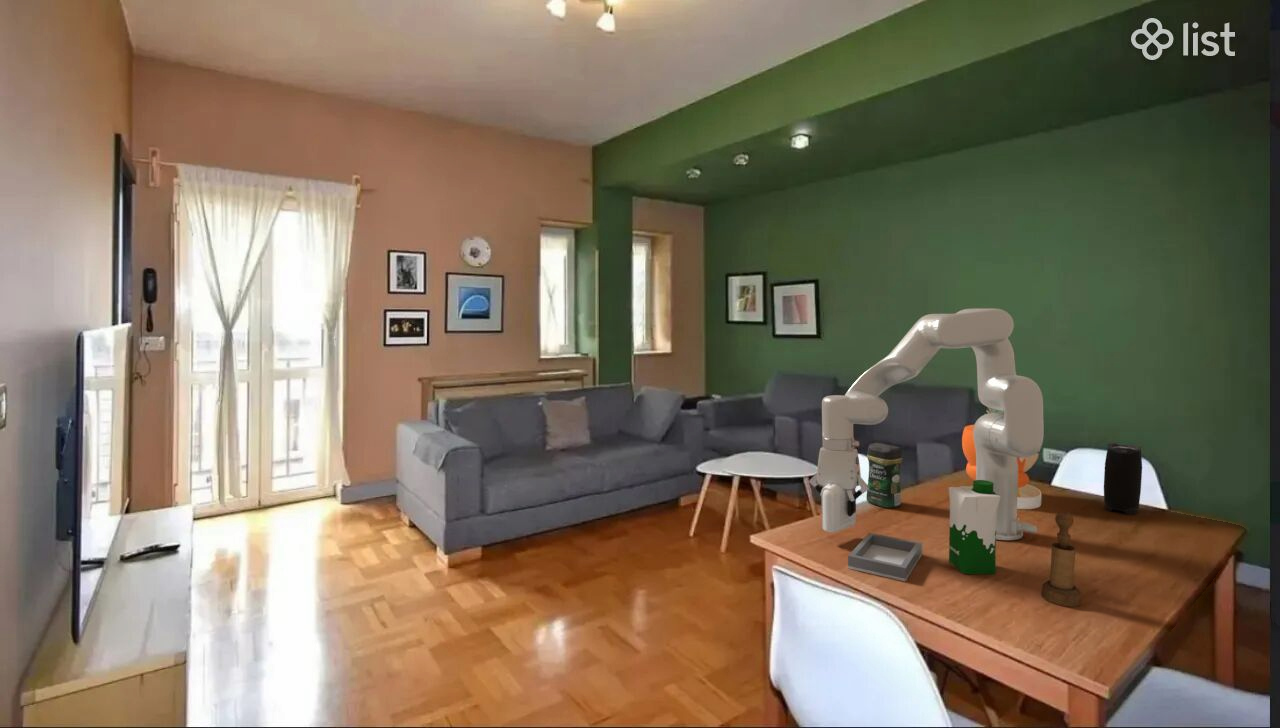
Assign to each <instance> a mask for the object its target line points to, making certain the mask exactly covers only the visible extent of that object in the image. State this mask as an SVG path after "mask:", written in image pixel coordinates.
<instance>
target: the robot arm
mask: <svg viewBox="0 0 1280 728" xmlns="http://www.w3.org/2000/svg"><path fill="white" fill-rule="evenodd" d="M1014 325H1015V323H1014V319H1013V317H1012V315H1010V313H1008V311H1006V310H1003V309H1002V308H993V307H992V308H991V307H990V308H989V307H988V308H979V307H978V308H965V309H961V310H959V311H957V312H955V313H928V314H926V315H924V316H921V317H920V318H919V319H918V320H917V321H916V322H915V323H914V324H913V326H912V327H911V328H910V329H909V330H908V331H907V333H906V334H905V335H904V336H903V337H902V339H901V340H900V341H899V343H898V344H897V345H896V346H895V347H894V348H893V349H891V352H890V353H889V354H888V355H886V357H884V358H882V359H881V360H880V361H878V362H876V363H875V364H874V365H872V366H871V367H870V368H869V369H867V370H865V371H864V372H863V374H861V375H860V376H859V377H858V378H857V379H856V380H855V382H853V384H852V385H851V387H850V388H849V389H848V390H847V391H846V393H845V394H844V395H841V394H840V395H839V394H837V395H836V394H834V395H826V396H824V397H823V398H822V401H821V424H822V425H821V426H822V427H821V428H822V433H821V434H822V435H821V436H822V447H820V449H819V453H818V461H817V470H816V471H817V472H816V473H815V474H814V475H813V476H812V477H811V478H810V479H809V484H810V485H812V486H813V487H814V489H815V490H816V491H817V493H819V495H820V497H821V498H822V490H823V488H824V487H825V486H827V485H828V484H830V483H831V484H832V485H833V484H837V485H838V486H840V488H842V489H845V490H847V493H848V496H849V501H848V516H852V515H853V514H854V513H855V512H857V499H858V498H859V497H860V496H862V495H863V494H864V493H867V490H868V489H869V486H868V483H866V482H865V481H864V479H863V477H862V476H861V475H862V474H861V466H860V458H859V453H858V452H859V451H858V449H857V448H856V447H859V446H860V441H858V440H855V437H854V425H855V424H856V425H869V426H872V425H878V424H880V423H882V422H883V421H885V419H886V418H887V417H888V414H889V407H888V404H887V403H886V401H885V400H884V399H882V398H881V397H879V396H880V395H881V394H882V393H884V392H885V391H886V390H888V389H889V388H891V387H893V386H894V385H895V386H896V385H897V384H900V383H904V382H907V381H909V380H912V379H913V378H916V377H917V376H918V375H919V374H920V373H921V371H922V370H924V368H925V367H926V366H927V365H928V363H929V362H931V360H932V359H933V357H935V355H936V354H937V353H938V351H939V350H940V349H949V350H952V349H963V348H966V349H967V348H971V349H972V350H973V353H974V354H975V359H976V361H975V362H976V372H977V373H976V374H977V376H976V379H977V397H978V400H979V402H980V403H981V404H982V405H984V406H985V407H987V408H988V407H989V409H990V408H992V409H996V410H1000V411H1004V415H1003V414H998V413H989V414H988V413H984V415H981V416H980V417H979V418H978V419H977V420H976V422H975V423H974V424H973V425H974V429H973V437H974V443H975V449H976V480H986V481H990V482H993V491H994V492H995V493H996V494H998V495H999V496H1000V501H999V505H998V509H997V522H996V541H997V540H998V541H1015V540H1020V539H1022V538H1023V536H1024V532H1027V533H1029V534H1037V533H1038V532H1037V531H1038V529H1037V528H1038V525H1033V523H1031V522H1022V520H1019V518H1020V517H1019V515H1017V514H1018V513H1017V510H1018V509H1017V490H1018V463H1017V458H1030V457H1032V456H1034V455H1035V454H1037V453H1038V451H1039V450H1040V451H1041V449H1042V446H1043V442H1044V437H1045V436H1044V434H1045V433H1044V432H1045V431H1044V428H1045V427H1044V425H1045V423H1044V399H1043V393H1042V391H1041V388H1040V387H1039V385H1038V384H1037V383H1036V381H1034V380H1033V379H1031V378H1030V377H1027V376H1022V375H1017V372H1016V362H1015V353H1014V352H1015V351H1014V347H1013V346H1012V343H1011V341H1010V339H1009V337H1010V336H1011V335H1012V333H1013V331H1014V328H1015V326H1014ZM1040 448H1041V449H1040ZM1016 457H1017V458H1016ZM858 486H859V488H860V489H858V490H856V489H857V487H858Z"/></svg>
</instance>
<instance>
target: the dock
mask: <svg viewBox="0 0 1280 728" xmlns="http://www.w3.org/2000/svg"><path fill="white" fill-rule="evenodd" d="M922 554H923V543H922V542H920V541H914V540H910V539H905V538H897V537H895V536H894V537H893V536H888V535H883V534H877V533H873V532H868V533H867V535H865V537H864V538H863V539H862V540H861V541H860V543H858V544H857V545H856V547H854V548H853V550H851V552H850V553H849V554H848V555H847V568H848V569H850V570H854V571H857V572H858V571H859V572H863V573H867V574H872V575H874V576H875V575H876V576H881V577H884V578H889V579H893V580H897V581H901V582H906V581H907V580H908V577H909V576H910V575H911V573H912V571H913V570H914V568H915V566H916V565H917V563H918V562H919V560H920V559H921V557H922V556H923V555H922Z"/></svg>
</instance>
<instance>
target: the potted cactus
mask: <svg viewBox="0 0 1280 728" xmlns="http://www.w3.org/2000/svg"><path fill="white" fill-rule="evenodd" d="M989 413H998V414H1003V415H1004V411H1000V410H996V409H992V408H989V407H987V414H989ZM974 425H975V424H970V425H966V426H964V428H963V431H962V439H961V444H962V445H961V446H962V450H963V451H962V452H963V455H964V456H965V458H966V460H967V463H966V468H965V471H966V474H967V475H968V477H969V478H971V480H972V481H974V480H976V449H975V443H974V437H973V429H974ZM1041 449H1042V447H1041V448H1040V450H1039V451H1038V453H1037V454H1035V455H1034V456H1032V457H1030V458H1017V457H1016V458H1017V463H1018V490H1017V510H1032V509H1033V510H1035V509H1037V508H1038V509H1039V508H1040V507H1041V505H1042V494H1043V493H1042V491H1041V490H1040V488H1037V487H1036V486H1034V485H1031V484H1029V482H1030V477H1029V475H1028V474H1027V473H1026V472H1027V471H1029V470H1030V469H1031V468H1032V467H1033V466H1034V465H1035V464H1036V462H1037V460H1038V458H1039V456H1040V454H1041Z"/></svg>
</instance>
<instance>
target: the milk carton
mask: <svg viewBox="0 0 1280 728" xmlns="http://www.w3.org/2000/svg"><path fill="white" fill-rule="evenodd" d="M972 481H973V482H972V486H966V485H965V486H963V485H961V486H949V487H948V492H949V534H948V535H949V538H948V540H949V543H948V562H949V563H950V565H953V567H954V568H956V569H957V570H958V571H959V572H960V573H962V574H963V575H996V574H997V572H996V571H997V570H996V567H997V566H996V565H997V561H996V560H997V559H996V558H997V557H996V556H997V553H996V552H997V551H996V550H997V548H996V547H997V540H996V522H997V509H998V505H999V501H1000V496H999V495H998V494H996V493H995V492H994V491H993V482H990V481H986V480H972Z"/></svg>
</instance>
